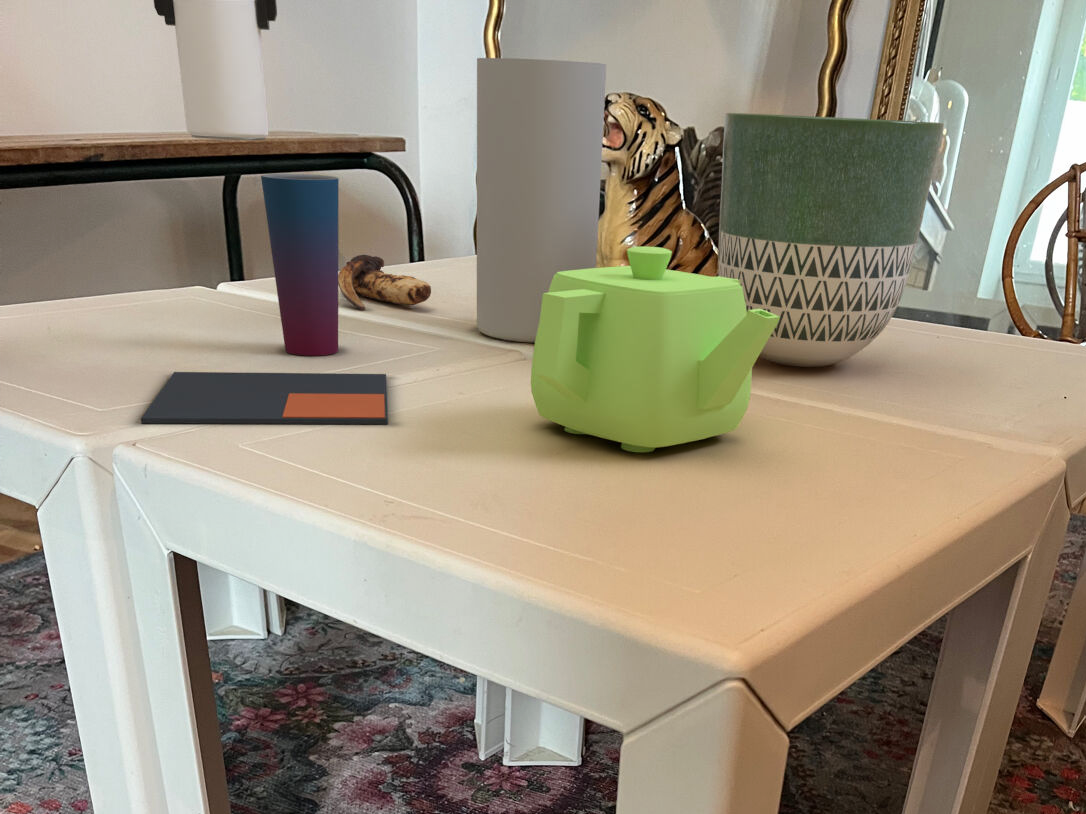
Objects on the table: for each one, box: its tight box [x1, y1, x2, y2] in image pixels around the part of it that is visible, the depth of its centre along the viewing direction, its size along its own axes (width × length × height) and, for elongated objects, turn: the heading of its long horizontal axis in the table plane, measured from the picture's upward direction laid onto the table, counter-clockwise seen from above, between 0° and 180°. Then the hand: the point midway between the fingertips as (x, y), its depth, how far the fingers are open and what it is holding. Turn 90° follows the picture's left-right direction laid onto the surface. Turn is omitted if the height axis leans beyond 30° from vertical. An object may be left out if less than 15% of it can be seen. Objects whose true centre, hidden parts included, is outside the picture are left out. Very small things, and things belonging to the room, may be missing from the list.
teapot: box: [530, 246, 780, 453], centre depth 81 cm, size 18×20×13 cm
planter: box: [717, 112, 945, 368], centre depth 107 cm, size 20×20×21 cm
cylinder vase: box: [476, 57, 607, 344], centre depth 115 cm, size 12×12×25 cm
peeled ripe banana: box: [338, 254, 432, 311], centre depth 133 cm, size 9×5×18 cm
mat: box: [140, 371, 389, 425], centre depth 91 cm, size 18×16×1 cm
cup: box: [260, 173, 340, 357], centre depth 104 cm, size 7×7×15 cm
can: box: [173, 0, 269, 141], centre depth 89 cm, size 6×6×12 cm
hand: (217, 26), depth 88 cm, fingers closed on can, 6 cm apart
